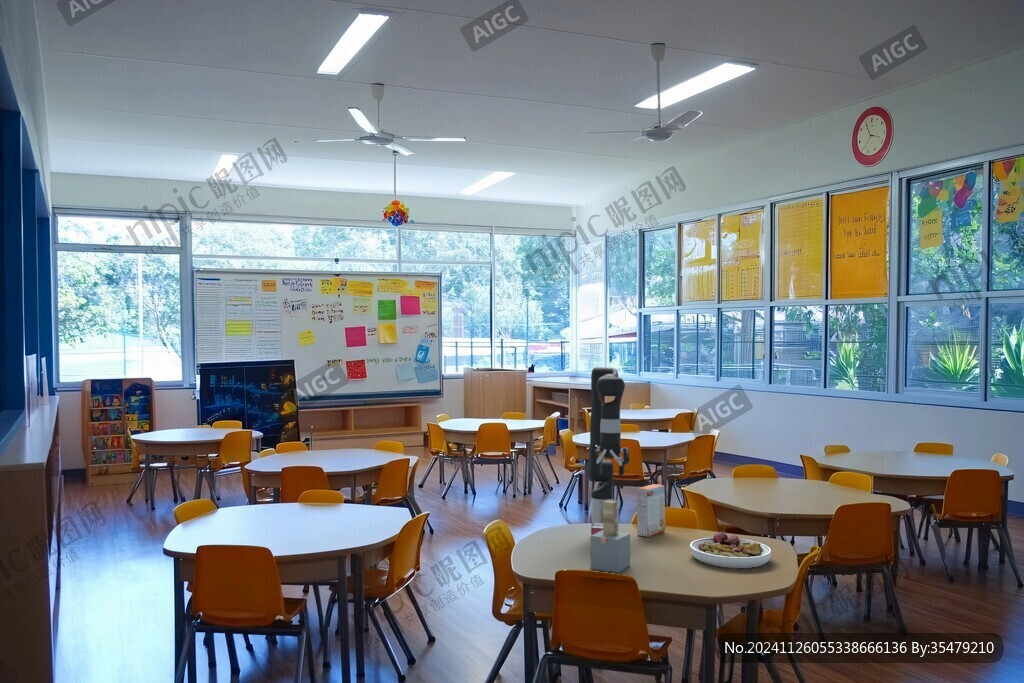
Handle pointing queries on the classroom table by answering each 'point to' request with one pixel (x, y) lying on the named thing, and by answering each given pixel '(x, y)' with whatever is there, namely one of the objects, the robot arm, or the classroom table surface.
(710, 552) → the plate of food
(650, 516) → the cracker box
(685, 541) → the classroom table surface
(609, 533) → the post
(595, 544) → the grey box
